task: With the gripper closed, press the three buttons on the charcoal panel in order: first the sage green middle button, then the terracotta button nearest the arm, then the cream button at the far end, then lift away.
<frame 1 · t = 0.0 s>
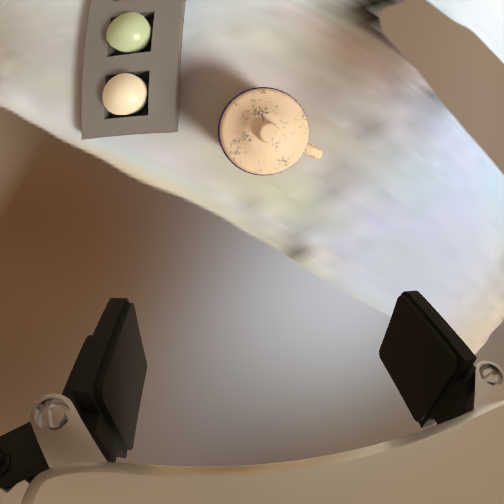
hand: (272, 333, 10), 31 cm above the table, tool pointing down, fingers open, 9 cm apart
sage button: (129, 33, 26), point 3 cm above the table, slide at 0.0 cm
button panel: (136, 38, 29), on the table
teacup with lid: (265, 132, 37), on the table
cream button: (126, 94, 30), point 3 cm above the table, slide at 0.0 cm
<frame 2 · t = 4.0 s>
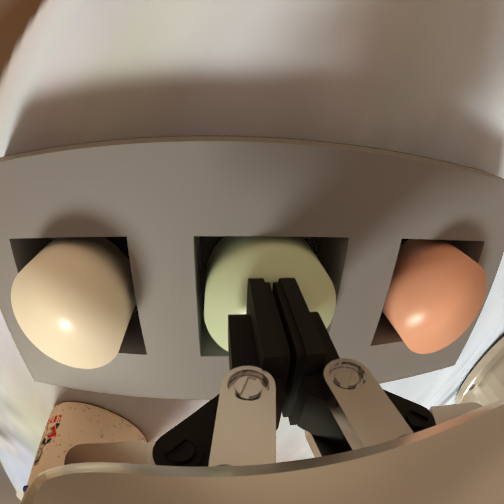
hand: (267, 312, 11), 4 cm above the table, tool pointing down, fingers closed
sage button: (266, 292, 13), point 2 cm above the table, slide at 0.9 cm, touching gripper
button panel: (260, 267, 14), on the table
teacup with lid: (99, 435, 20), on the table
cream button: (75, 300, 11), point 3 cm above the table, slide at 0.0 cm
terracotta button: (432, 294, 13), point 3 cm above the table, slide at 0.0 cm
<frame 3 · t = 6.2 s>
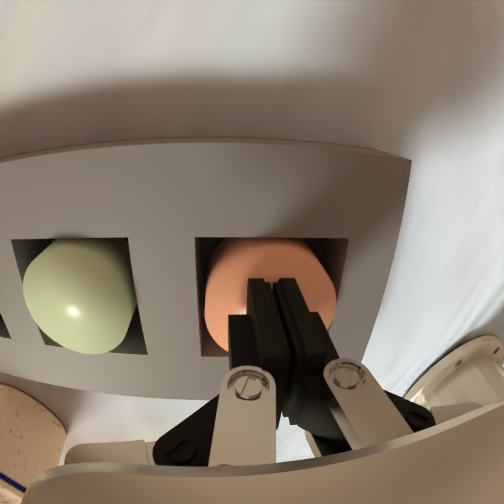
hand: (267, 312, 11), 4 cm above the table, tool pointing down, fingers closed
sage button: (84, 289, 12), point 2 cm above the table, slide at 0.9 cm
button panel: (98, 267, 14), on the table
teacup with lid: (30, 419, 20), on the table
terracotta button: (266, 292, 13), point 2 cm above the table, slide at 0.8 cm
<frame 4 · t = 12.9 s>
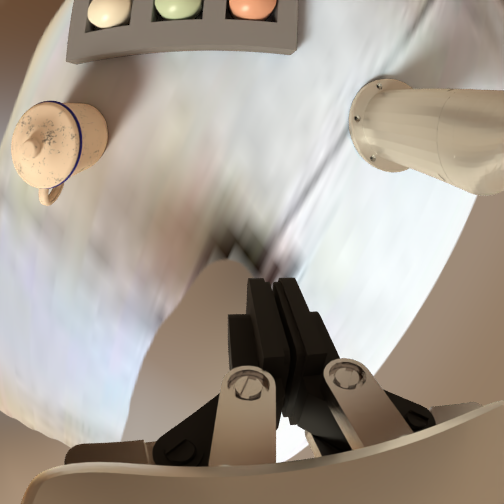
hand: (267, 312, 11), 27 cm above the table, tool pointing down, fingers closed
sage button: (179, 2, 24), point 2 cm above the table, slide at 0.9 cm
button panel: (181, 7, 26), on the table
teacup with lid: (76, 147, 32), on the table
cream button: (111, 10, 23), point 2 cm above the table, slide at 0.9 cm
terracotta button: (251, 2, 25), point 2 cm above the table, slide at 0.9 cm
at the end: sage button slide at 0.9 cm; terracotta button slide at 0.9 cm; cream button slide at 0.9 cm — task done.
